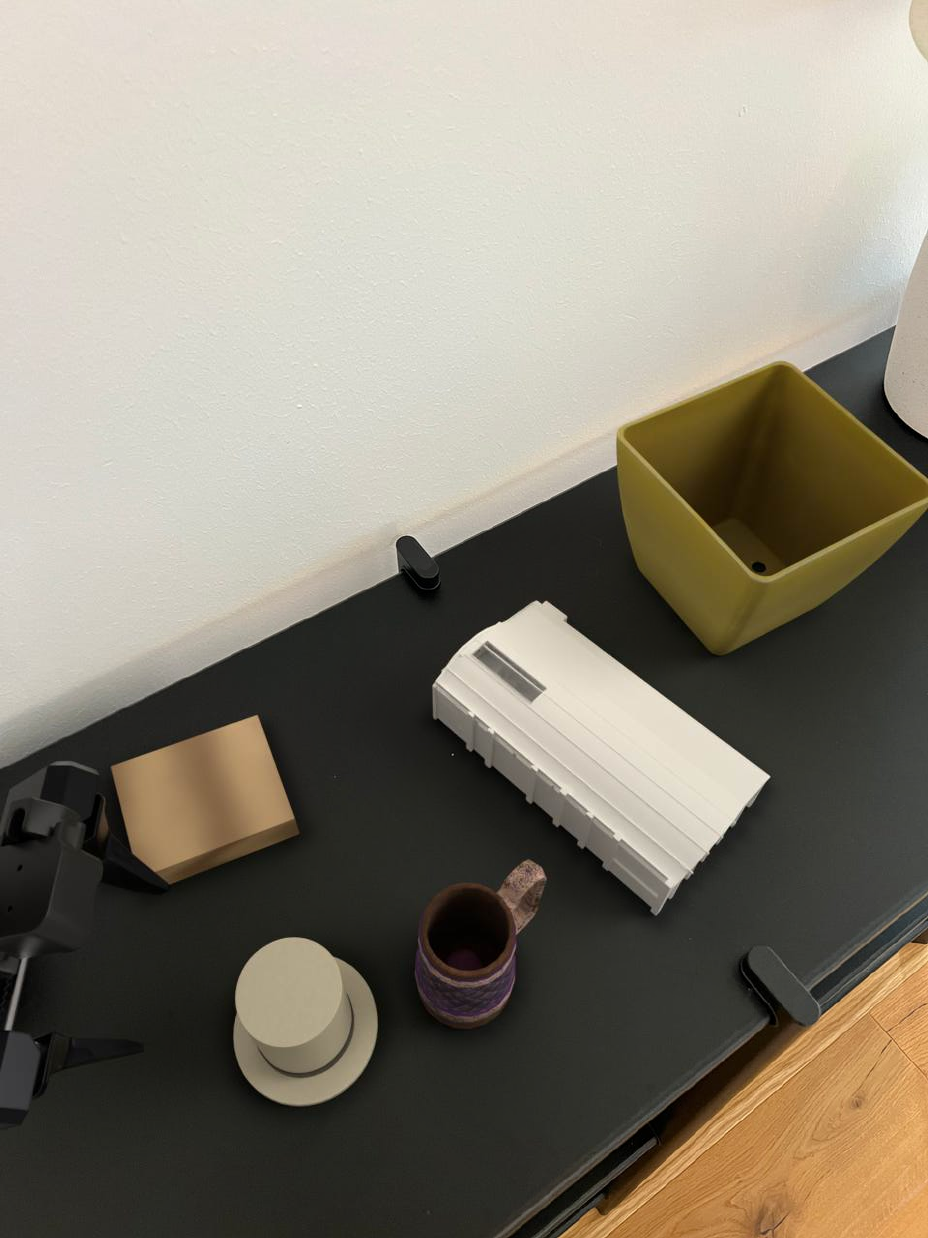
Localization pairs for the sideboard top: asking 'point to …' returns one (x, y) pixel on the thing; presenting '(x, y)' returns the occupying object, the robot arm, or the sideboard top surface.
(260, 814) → the wooden block
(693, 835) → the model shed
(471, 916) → the mug
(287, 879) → the sideboard top surface
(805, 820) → the sideboard top surface
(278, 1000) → the hat
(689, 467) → the flower pot
